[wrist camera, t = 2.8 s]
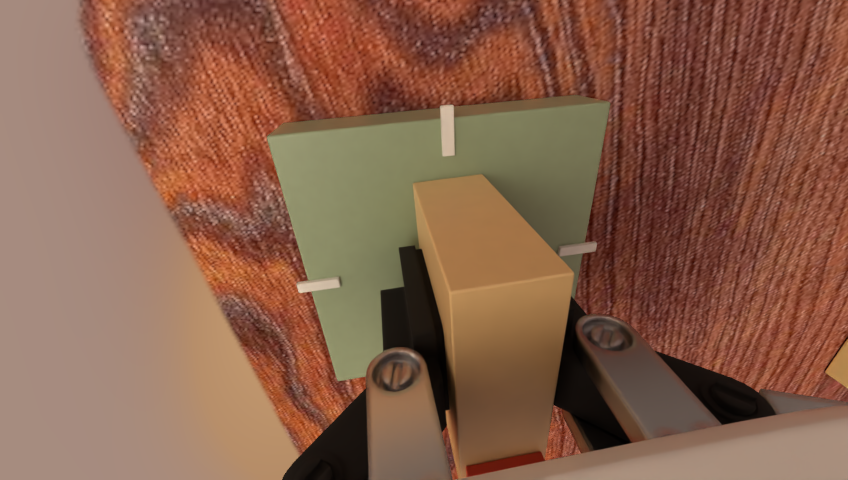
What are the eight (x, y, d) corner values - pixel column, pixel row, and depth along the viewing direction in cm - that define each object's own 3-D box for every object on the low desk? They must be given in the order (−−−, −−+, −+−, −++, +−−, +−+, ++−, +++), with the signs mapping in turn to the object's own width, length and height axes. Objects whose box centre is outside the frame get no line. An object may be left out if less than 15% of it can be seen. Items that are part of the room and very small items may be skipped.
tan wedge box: (412, 182, 10) (451, 301, 5) (482, 173, 11) (584, 280, 6) (428, 337, 14) (463, 502, 9) (482, 328, 14) (546, 485, 9)
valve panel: (267, 112, 11) (245, 124, 9) (587, 82, 12) (629, 88, 10) (334, 352, 16) (330, 392, 14) (552, 318, 17) (574, 351, 15)
